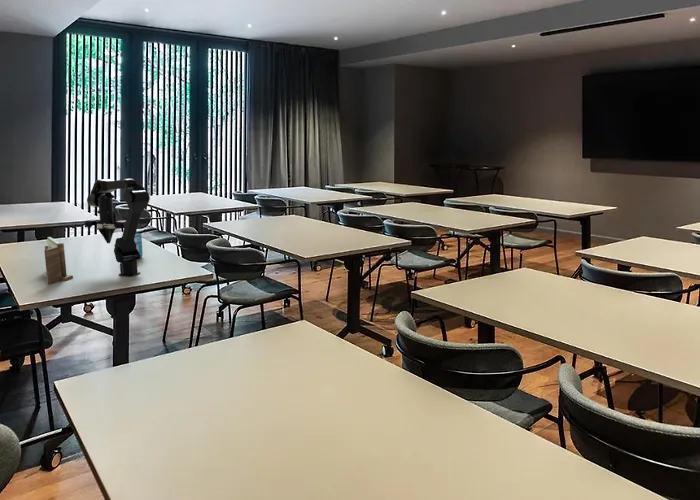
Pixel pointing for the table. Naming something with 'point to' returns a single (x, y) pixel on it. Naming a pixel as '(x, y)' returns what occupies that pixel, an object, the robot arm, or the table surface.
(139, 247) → the data package
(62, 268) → the brown piece
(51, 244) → the sage green panel
